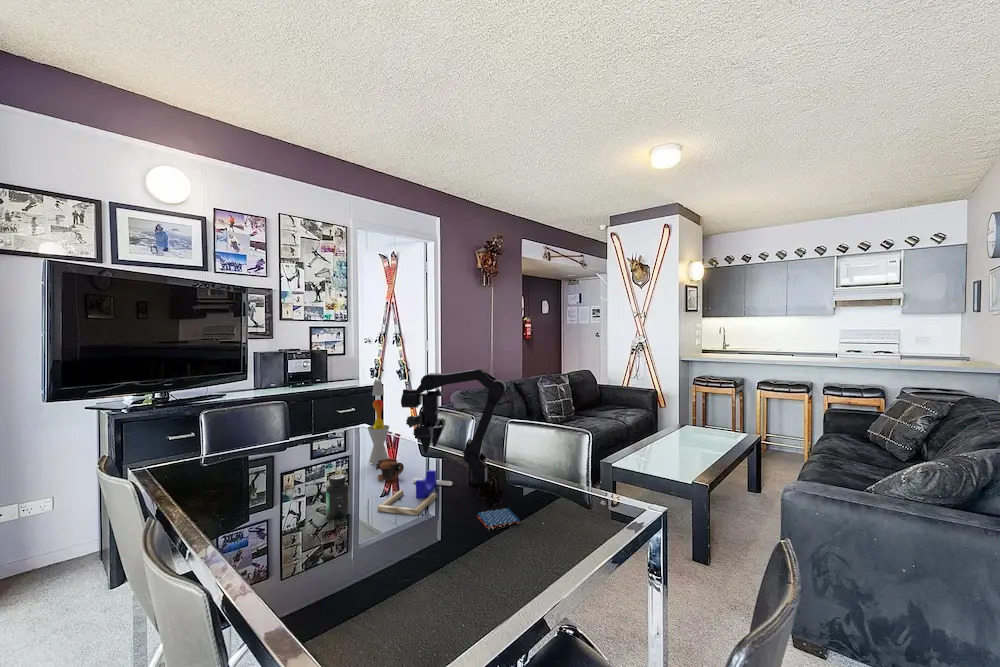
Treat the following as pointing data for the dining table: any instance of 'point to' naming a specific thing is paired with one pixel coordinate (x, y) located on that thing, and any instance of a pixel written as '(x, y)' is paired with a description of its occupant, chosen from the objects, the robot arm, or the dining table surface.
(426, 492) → the cable clip
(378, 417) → the lava lamp
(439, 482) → the white peg
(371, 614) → the dining table surface
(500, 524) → the woven mat
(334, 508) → the supplement bottle
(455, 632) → the dining table surface
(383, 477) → the pottery mug
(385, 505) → the frame
